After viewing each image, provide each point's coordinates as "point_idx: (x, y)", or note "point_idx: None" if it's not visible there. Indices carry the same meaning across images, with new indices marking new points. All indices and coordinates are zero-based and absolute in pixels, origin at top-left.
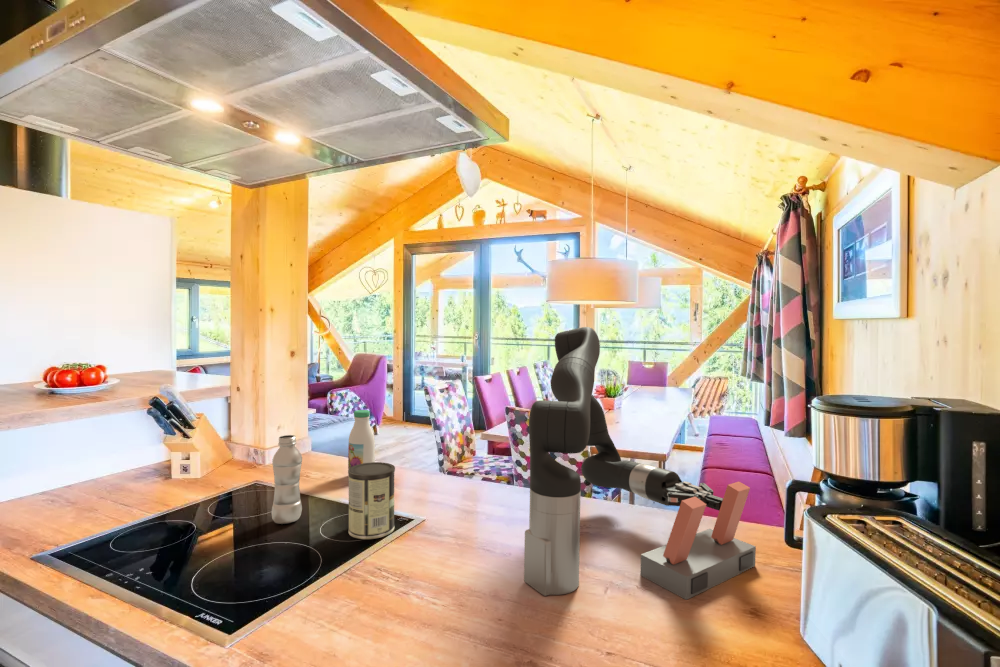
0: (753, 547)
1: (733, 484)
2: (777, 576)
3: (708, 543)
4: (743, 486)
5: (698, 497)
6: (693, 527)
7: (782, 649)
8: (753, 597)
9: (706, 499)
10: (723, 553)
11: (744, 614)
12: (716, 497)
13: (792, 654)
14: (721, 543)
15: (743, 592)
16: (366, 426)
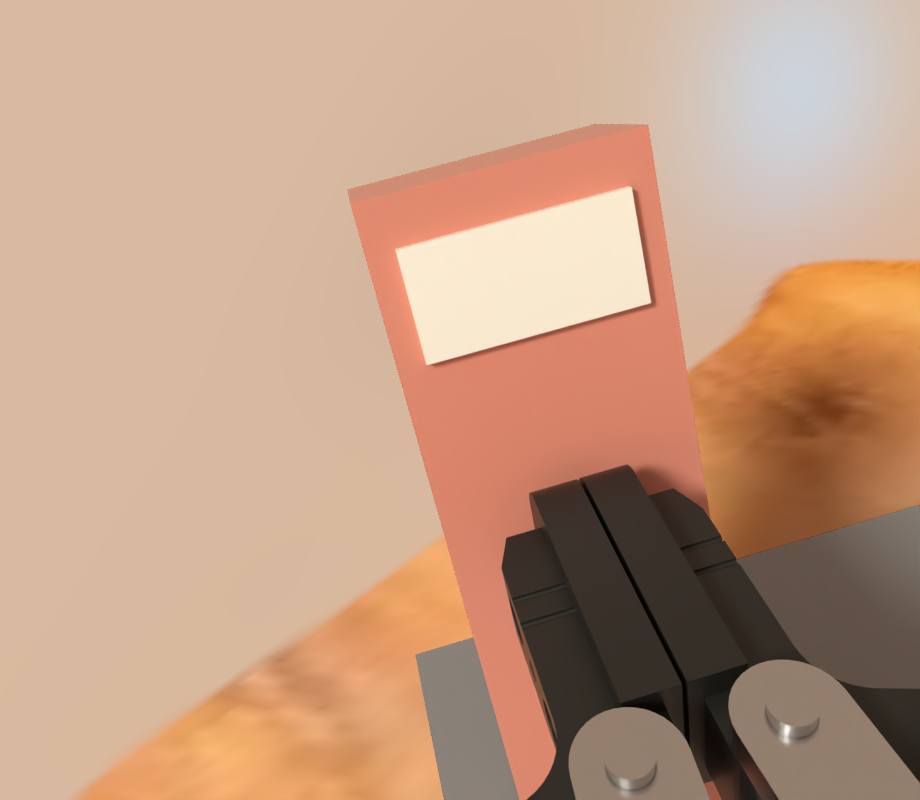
0: (447, 646)
1: (531, 154)
2: (428, 619)
3: None
4: (413, 178)
5: (911, 742)
6: None
7: (851, 281)
8: (740, 491)
9: (788, 638)
10: (777, 607)
11: (881, 407)
12: (620, 567)
13: (832, 269)
14: None
15: (765, 530)
16: None
